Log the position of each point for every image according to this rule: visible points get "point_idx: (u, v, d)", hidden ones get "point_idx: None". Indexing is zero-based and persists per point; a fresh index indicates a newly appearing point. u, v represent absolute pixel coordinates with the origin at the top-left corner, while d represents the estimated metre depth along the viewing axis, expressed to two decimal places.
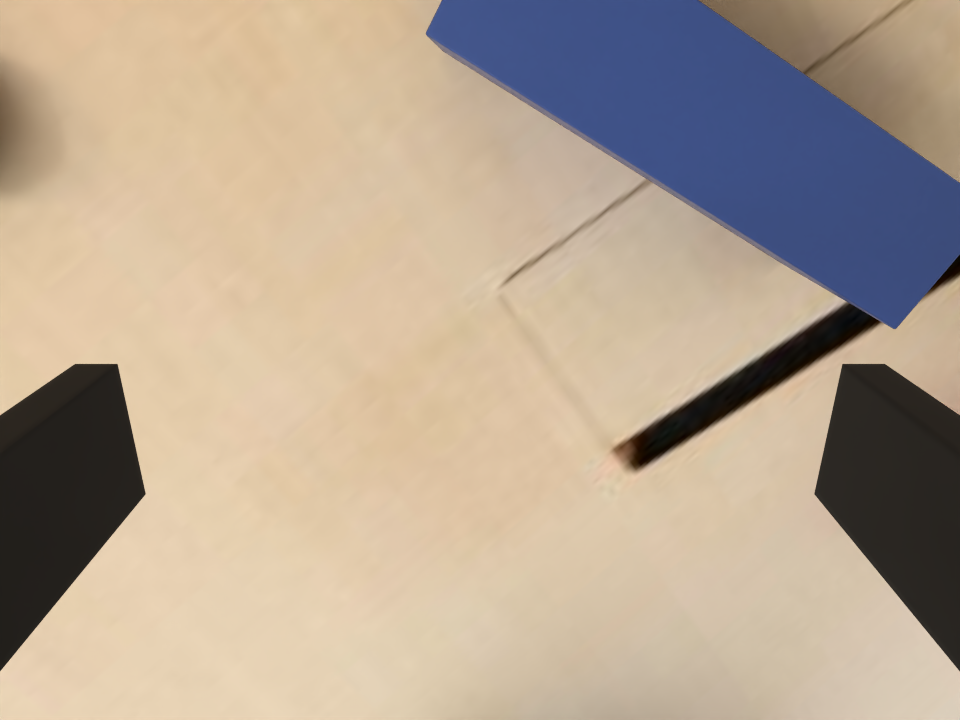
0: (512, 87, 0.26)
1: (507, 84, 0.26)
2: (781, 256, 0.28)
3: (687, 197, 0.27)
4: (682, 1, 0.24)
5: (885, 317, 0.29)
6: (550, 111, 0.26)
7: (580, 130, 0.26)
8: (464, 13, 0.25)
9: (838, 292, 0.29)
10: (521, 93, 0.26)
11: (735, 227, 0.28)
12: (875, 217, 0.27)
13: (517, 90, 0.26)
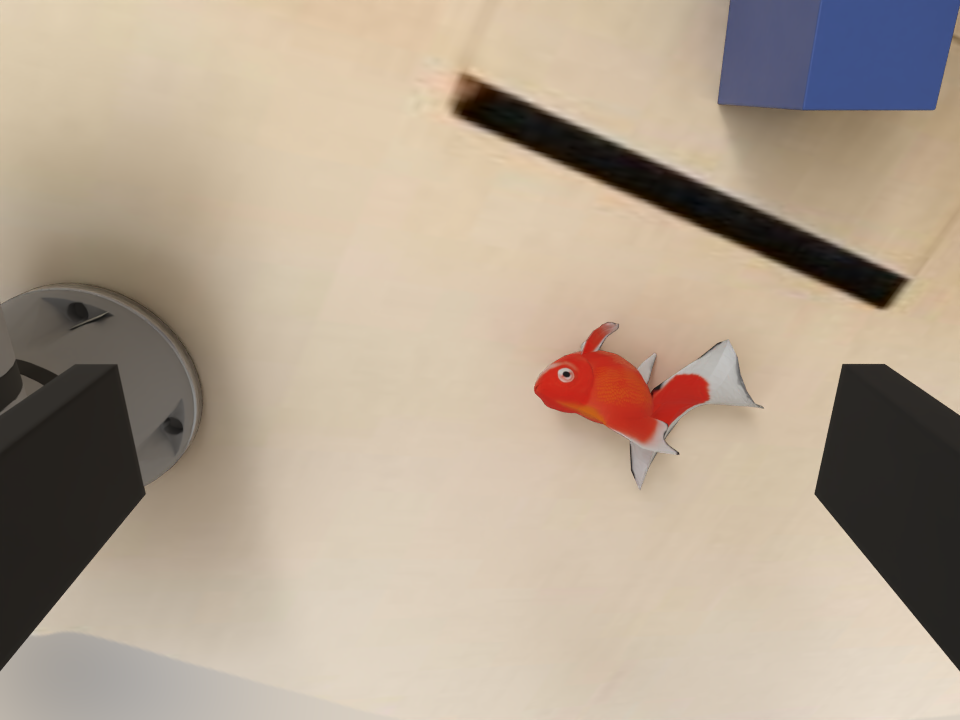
0: None
1: None
2: None
3: None
4: None
5: (810, 91, 0.30)
6: None
7: None
8: None
9: (817, 29, 0.29)
10: None
11: None
12: (895, 7, 0.29)
13: None
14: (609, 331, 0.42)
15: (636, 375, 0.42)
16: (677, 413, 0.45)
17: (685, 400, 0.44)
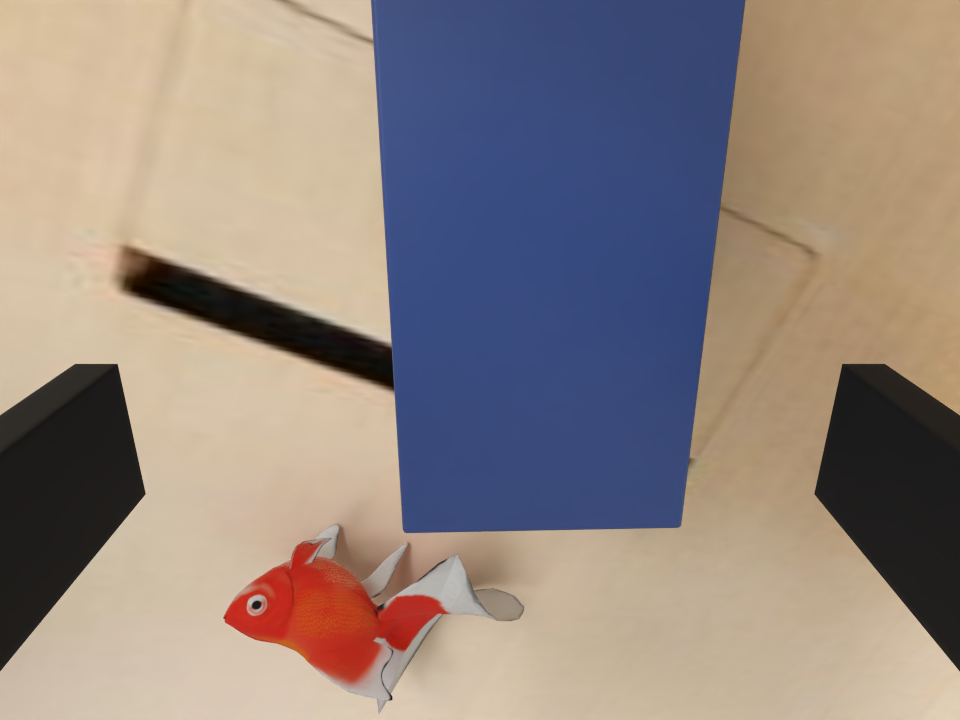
0: None
1: None
2: (388, 236, 0.12)
3: None
4: None
5: (410, 502, 0.14)
6: None
7: None
8: None
9: (397, 394, 0.13)
10: None
11: (380, 90, 0.11)
12: (561, 353, 0.13)
13: None
14: (322, 540, 0.36)
15: (351, 596, 0.35)
16: (423, 621, 0.38)
17: (423, 613, 0.37)
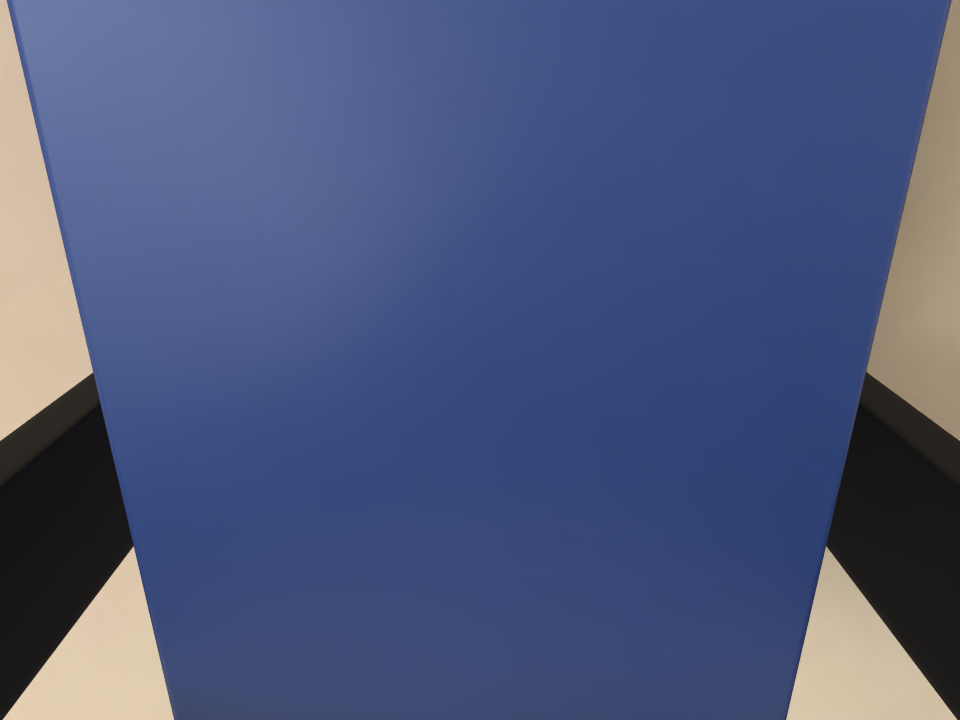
0: None
1: None
2: (131, 516, 0.06)
3: None
4: None
5: None
6: None
7: None
8: None
9: None
10: None
11: (64, 230, 0.05)
12: (505, 717, 0.06)
13: None
14: None
15: None
16: None
17: None
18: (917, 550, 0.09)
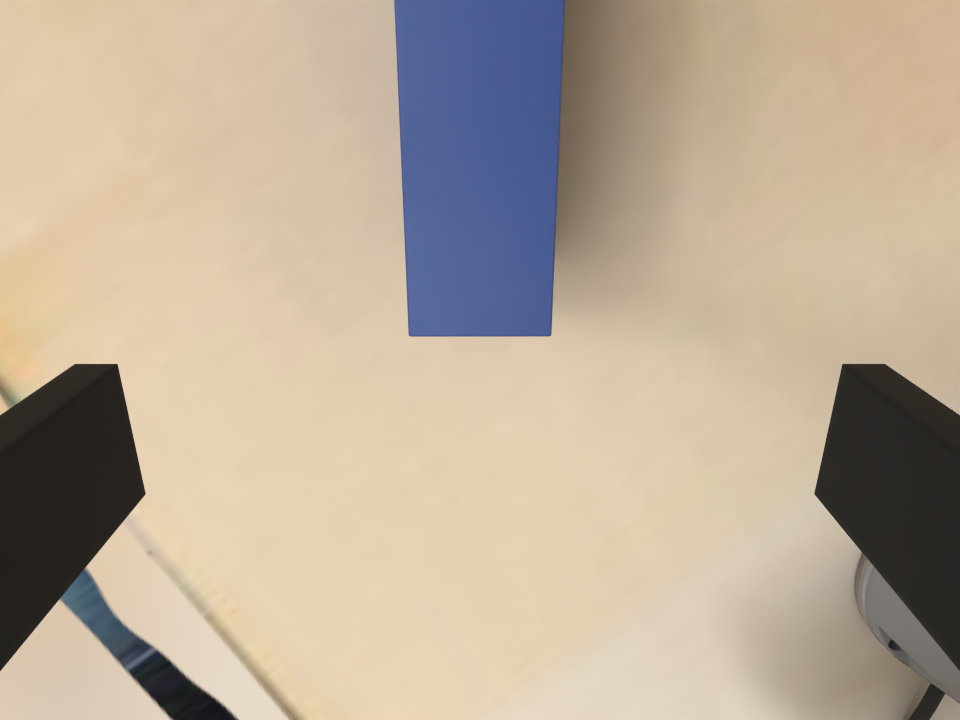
0: None
1: None
2: (403, 180, 0.26)
3: (397, 42, 0.24)
4: None
5: (413, 319, 0.28)
6: None
7: None
8: None
9: (406, 260, 0.27)
10: None
11: (400, 114, 0.25)
12: (485, 239, 0.27)
13: None
14: None
15: None
16: None
17: None
18: None
